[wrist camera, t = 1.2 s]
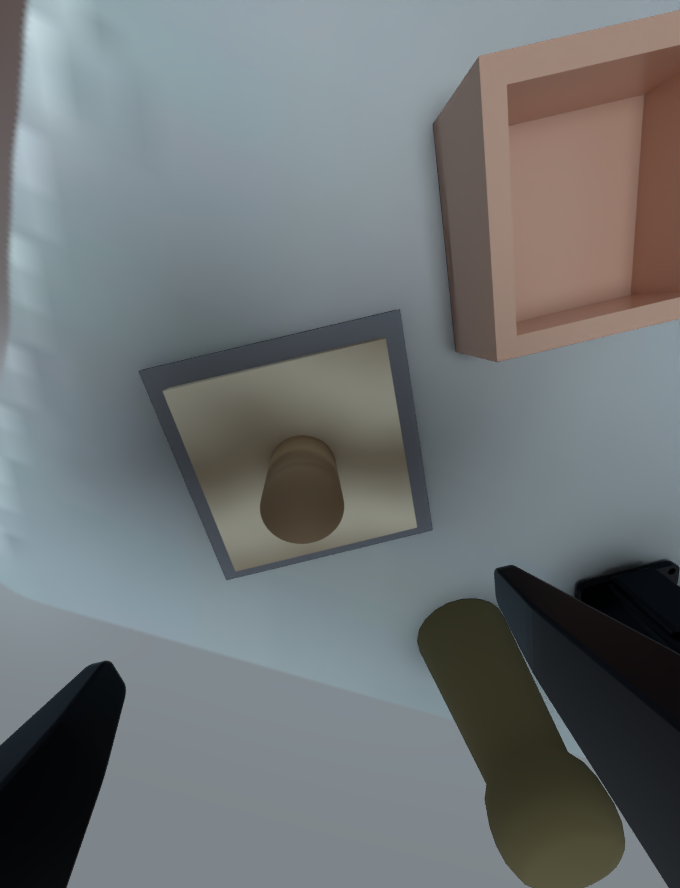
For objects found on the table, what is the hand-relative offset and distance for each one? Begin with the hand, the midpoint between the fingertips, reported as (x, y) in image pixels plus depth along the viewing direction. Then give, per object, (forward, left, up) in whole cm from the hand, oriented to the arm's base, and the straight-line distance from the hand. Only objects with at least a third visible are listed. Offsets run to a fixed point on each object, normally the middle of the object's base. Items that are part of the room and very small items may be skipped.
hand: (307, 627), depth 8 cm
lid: (0, 0, -10) cm, 11 cm away
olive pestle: (-15, -7, -11) cm, 20 cm away
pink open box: (+8, -13, -11) cm, 19 cm away
